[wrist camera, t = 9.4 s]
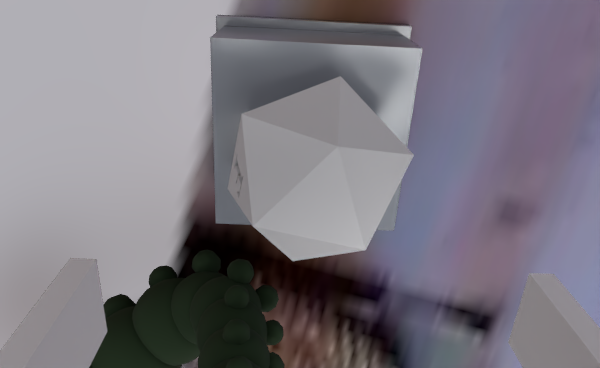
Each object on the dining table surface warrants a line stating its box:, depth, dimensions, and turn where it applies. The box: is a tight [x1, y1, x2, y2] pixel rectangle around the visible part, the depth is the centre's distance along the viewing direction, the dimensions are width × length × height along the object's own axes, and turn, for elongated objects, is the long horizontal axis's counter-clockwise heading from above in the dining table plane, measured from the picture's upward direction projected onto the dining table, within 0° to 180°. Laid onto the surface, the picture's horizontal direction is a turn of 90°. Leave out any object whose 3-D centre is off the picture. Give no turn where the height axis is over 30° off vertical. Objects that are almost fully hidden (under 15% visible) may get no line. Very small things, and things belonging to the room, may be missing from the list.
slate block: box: [210, 15, 422, 231], centre depth 30 cm, size 12×12×6 cm
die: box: [228, 76, 414, 261], centre depth 23 cm, size 8×9×10 cm
